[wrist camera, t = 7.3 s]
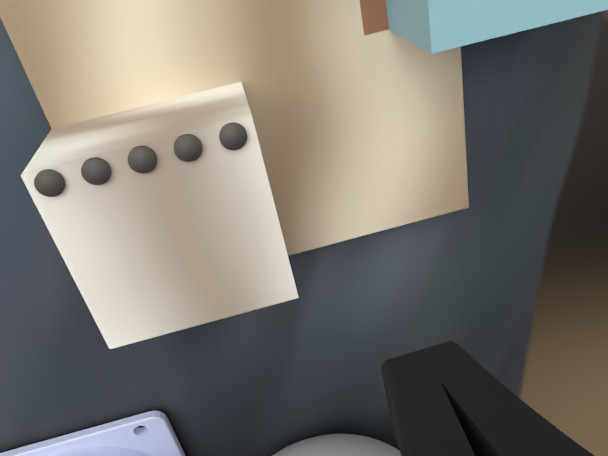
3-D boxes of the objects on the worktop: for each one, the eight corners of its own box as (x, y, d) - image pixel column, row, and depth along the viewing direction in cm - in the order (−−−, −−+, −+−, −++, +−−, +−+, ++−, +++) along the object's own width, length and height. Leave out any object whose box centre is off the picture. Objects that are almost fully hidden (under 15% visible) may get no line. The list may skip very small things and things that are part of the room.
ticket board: (133, 271, 18) (117, 368, 14) (-82, -220, 12) (-222, -292, 8) (449, 187, 19) (518, 259, 15) (414, -326, 12) (520, -442, 8)
